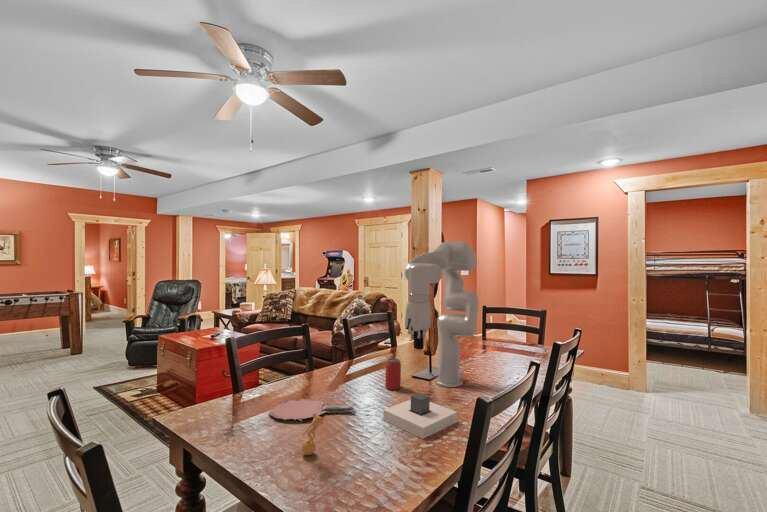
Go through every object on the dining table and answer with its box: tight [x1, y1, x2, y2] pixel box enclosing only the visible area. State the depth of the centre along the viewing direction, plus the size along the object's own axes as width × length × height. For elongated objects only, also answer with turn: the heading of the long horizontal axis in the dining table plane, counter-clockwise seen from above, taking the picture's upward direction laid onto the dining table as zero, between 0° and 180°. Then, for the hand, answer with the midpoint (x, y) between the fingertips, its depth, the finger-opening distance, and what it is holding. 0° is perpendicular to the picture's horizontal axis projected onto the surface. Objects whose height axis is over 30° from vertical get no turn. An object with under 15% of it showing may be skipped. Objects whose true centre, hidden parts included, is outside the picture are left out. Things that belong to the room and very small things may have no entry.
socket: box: [382, 399, 458, 440], centre depth 126 cm, size 18×18×4 cm
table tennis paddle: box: [269, 398, 355, 424], centre depth 129 cm, size 18×29×3 cm, turn 74°
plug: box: [410, 392, 431, 416], centre depth 126 cm, size 5×5×8 cm
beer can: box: [384, 358, 402, 391], centre depth 158 cm, size 7×7×12 cm
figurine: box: [301, 413, 325, 456], centre depth 103 cm, size 8×6×12 cm
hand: (418, 348), depth 133 cm, fingers closed
